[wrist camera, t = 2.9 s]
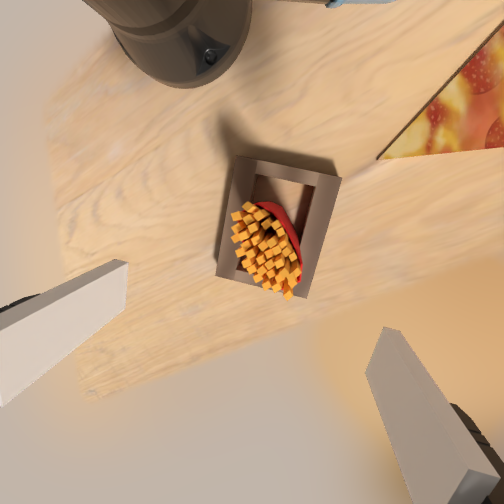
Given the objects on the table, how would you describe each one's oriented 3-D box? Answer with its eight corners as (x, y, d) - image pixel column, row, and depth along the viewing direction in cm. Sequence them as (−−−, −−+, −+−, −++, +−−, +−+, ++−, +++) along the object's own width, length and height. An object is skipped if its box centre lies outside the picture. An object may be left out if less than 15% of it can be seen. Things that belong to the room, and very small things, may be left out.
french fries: (306, 250, 35) (313, 292, 23) (277, 264, 36) (268, 311, 24) (272, 186, 33) (259, 194, 21) (242, 203, 35) (214, 220, 22)
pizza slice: (378, -3, 27) (385, -16, 25) (649, -56, 24) (680, -76, 22) (375, 160, 32) (380, 159, 30) (604, 136, 28) (627, 134, 26)
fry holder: (220, 269, 38) (215, 275, 35) (240, 156, 33) (236, 155, 31) (305, 290, 37) (306, 298, 34) (338, 177, 32) (342, 177, 30)
